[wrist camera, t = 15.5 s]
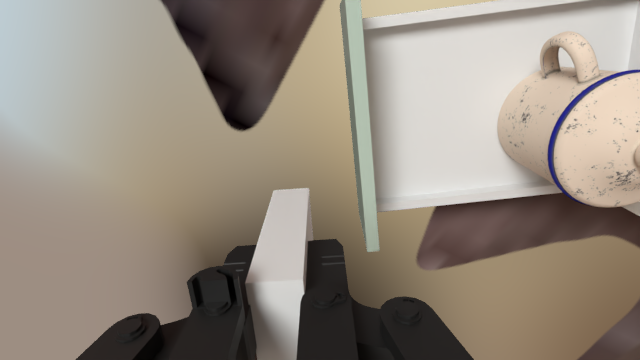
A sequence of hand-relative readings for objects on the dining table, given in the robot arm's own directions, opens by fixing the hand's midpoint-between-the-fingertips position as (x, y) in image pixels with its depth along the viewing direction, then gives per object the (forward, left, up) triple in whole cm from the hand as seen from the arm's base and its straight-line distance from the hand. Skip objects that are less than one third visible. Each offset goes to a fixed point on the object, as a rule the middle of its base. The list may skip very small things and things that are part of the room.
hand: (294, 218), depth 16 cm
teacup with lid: (0, +20, -18) cm, 27 cm away
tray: (0, +16, -19) cm, 25 cm away
